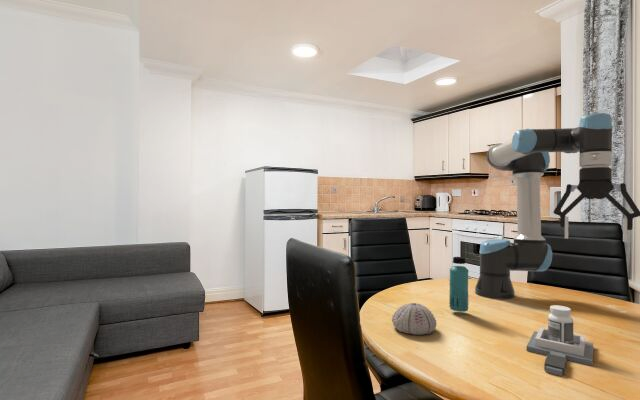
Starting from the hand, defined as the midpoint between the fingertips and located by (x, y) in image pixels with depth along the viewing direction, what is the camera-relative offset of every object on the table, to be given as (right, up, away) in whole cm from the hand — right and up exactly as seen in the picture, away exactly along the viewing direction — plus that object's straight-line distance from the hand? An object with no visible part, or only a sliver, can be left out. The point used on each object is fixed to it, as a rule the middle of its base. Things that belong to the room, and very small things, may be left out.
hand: (594, 239), depth 105 cm
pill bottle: (-16, -28, -8) cm, 33 cm away
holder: (-19, -28, -13) cm, 37 cm away
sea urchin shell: (-52, -29, +6) cm, 59 cm away
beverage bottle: (-31, -29, +22) cm, 48 cm away
